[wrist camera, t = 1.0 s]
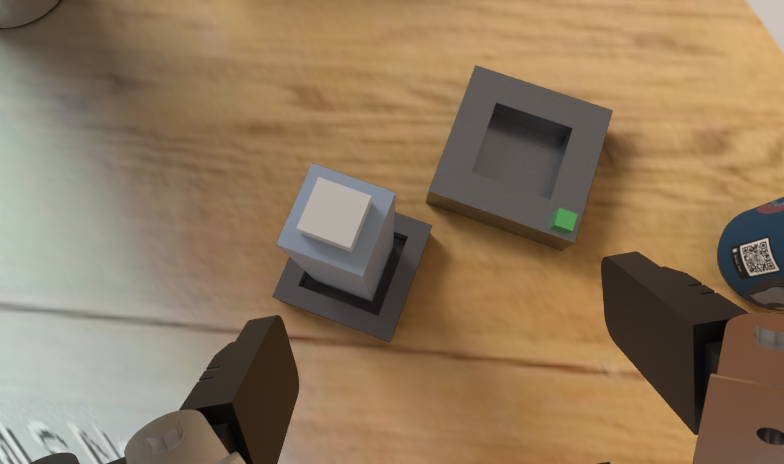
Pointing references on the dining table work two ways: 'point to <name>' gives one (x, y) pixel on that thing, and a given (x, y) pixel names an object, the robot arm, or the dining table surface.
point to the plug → (341, 231)
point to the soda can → (755, 255)
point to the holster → (354, 310)
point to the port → (521, 158)
